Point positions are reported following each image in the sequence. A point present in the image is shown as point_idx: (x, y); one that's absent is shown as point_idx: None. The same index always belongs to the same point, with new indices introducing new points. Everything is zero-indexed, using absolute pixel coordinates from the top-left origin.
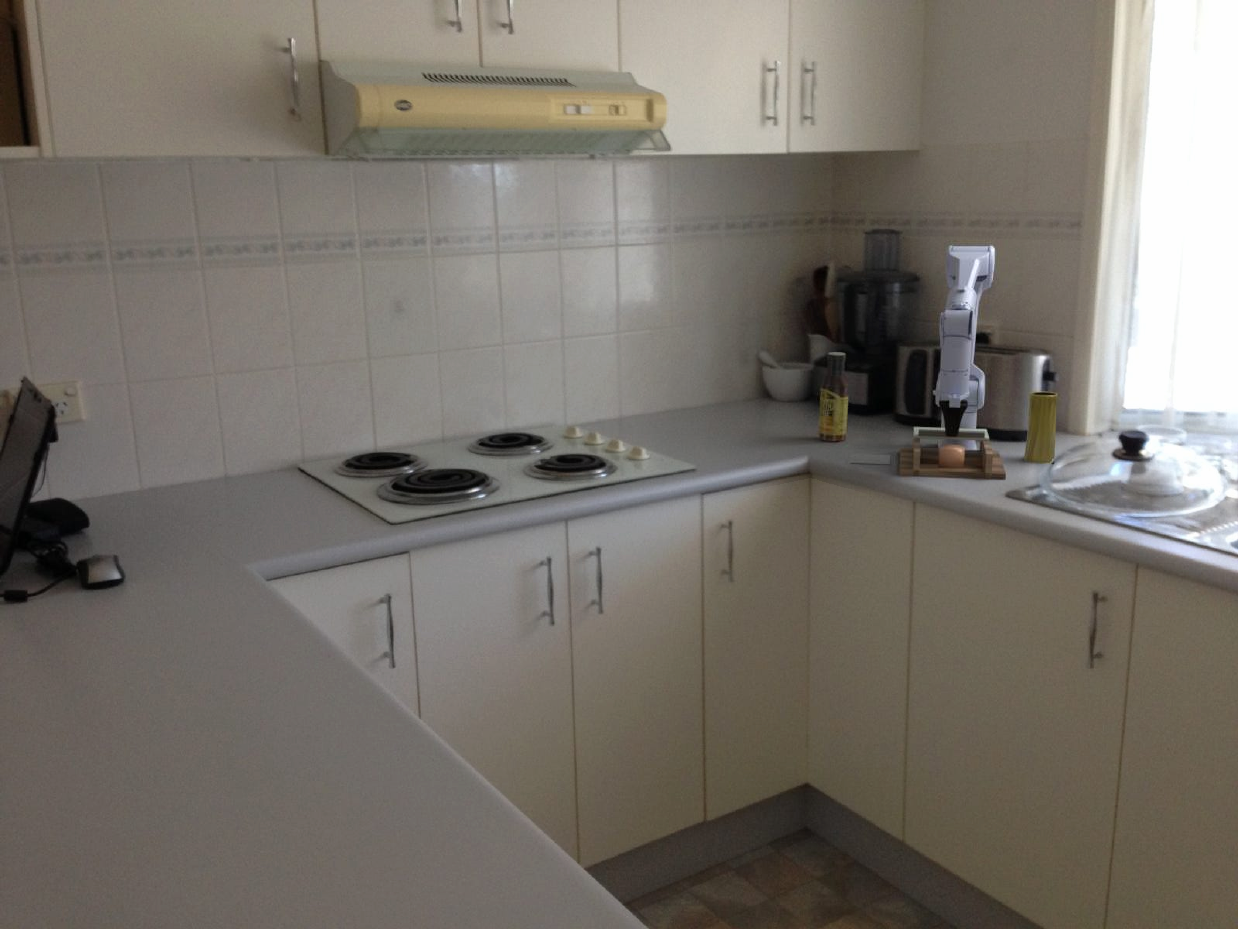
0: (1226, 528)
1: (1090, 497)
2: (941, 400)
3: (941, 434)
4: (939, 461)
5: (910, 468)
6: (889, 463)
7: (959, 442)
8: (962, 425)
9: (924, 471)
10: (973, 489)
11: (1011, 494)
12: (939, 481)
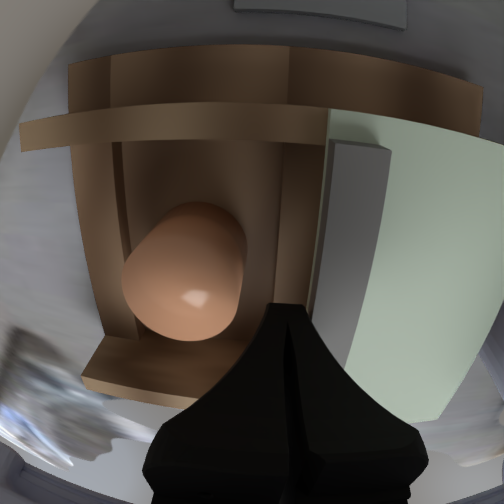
0: (42, 459)
1: (81, 429)
2: (420, 464)
3: (315, 281)
4: (169, 216)
5: (89, 100)
6: (245, 7)
7: None
8: (499, 362)
9: (73, 154)
10: (28, 279)
11: (32, 341)
12: (63, 199)
